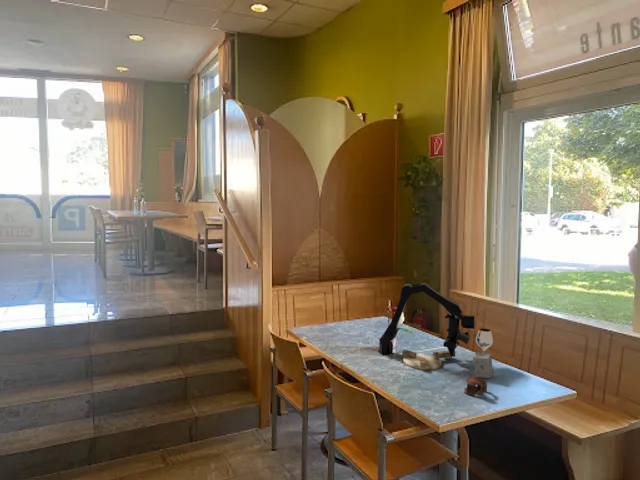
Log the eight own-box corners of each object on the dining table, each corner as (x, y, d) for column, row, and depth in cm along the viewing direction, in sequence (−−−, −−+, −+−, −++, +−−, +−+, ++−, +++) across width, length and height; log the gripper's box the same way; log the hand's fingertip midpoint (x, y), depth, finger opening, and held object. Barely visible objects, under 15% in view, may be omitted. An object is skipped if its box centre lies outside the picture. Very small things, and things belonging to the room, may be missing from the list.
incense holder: (475, 370, 235) (476, 349, 234) (492, 373, 231) (494, 352, 230) (471, 377, 226) (472, 355, 225) (490, 380, 223) (491, 358, 222)
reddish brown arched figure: (458, 391, 211) (464, 373, 213) (476, 399, 213) (482, 381, 215) (473, 395, 200) (479, 376, 202) (492, 404, 201) (498, 385, 203)
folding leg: (434, 359, 245) (435, 353, 245) (432, 357, 247) (432, 351, 247) (455, 356, 249) (455, 351, 249) (452, 354, 252) (452, 349, 251)
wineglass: (491, 362, 246) (493, 328, 244) (491, 368, 238) (493, 333, 236) (474, 360, 249) (476, 326, 247) (474, 365, 241) (476, 331, 239)
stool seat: (416, 372, 231) (416, 363, 231) (395, 358, 250) (396, 350, 250) (449, 367, 238) (449, 359, 237) (427, 354, 257) (427, 347, 256)
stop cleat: (443, 359, 250) (444, 352, 250) (441, 357, 252) (441, 351, 252) (451, 358, 252) (452, 351, 251) (449, 356, 254) (449, 350, 253)
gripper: (466, 333, 233) (465, 364, 235) (472, 324, 250) (470, 353, 252) (443, 330, 238) (442, 360, 240) (450, 321, 255) (449, 350, 256)
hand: (452, 356), depth 247 cm, fingers closed
